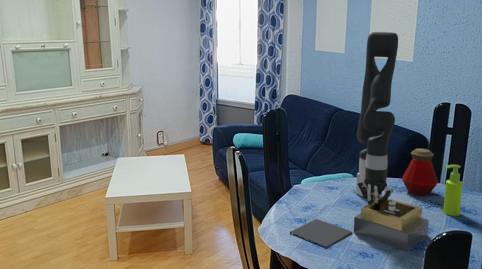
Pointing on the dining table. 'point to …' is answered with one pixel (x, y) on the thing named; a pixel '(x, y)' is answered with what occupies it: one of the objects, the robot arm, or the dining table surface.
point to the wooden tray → (390, 221)
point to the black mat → (321, 232)
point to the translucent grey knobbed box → (392, 230)
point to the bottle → (420, 173)
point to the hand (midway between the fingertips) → (373, 210)
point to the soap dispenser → (453, 192)
